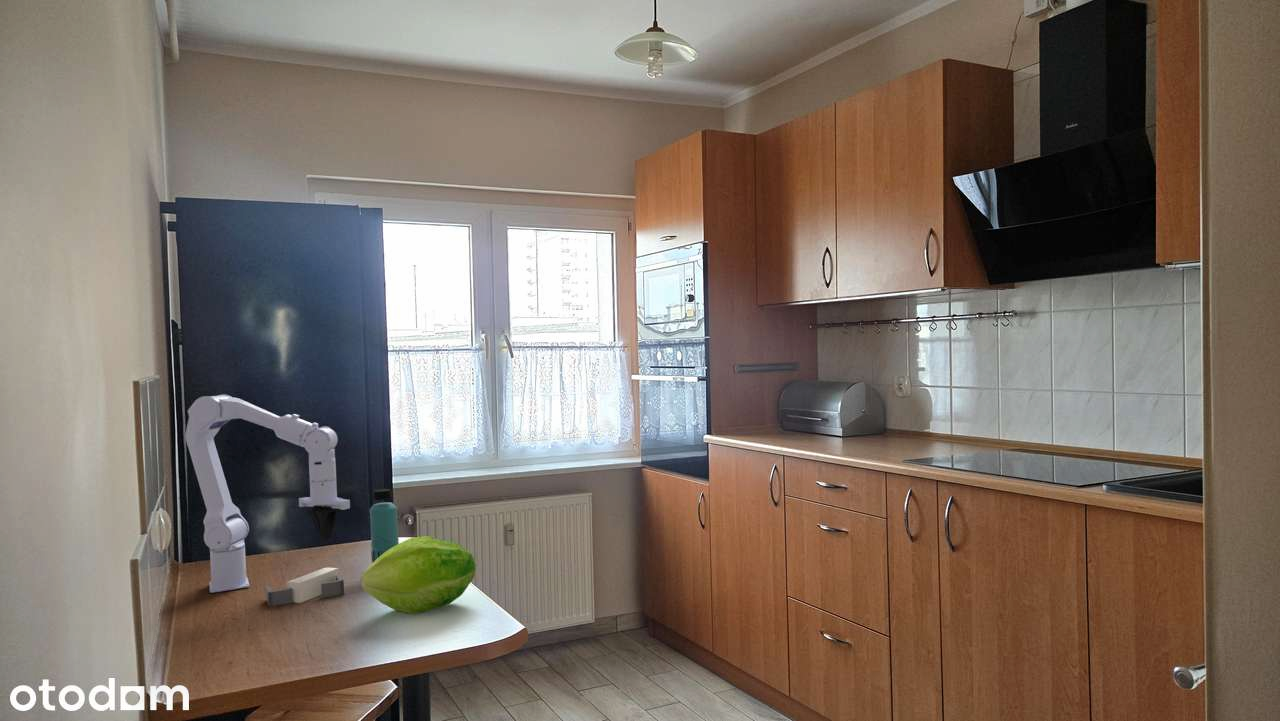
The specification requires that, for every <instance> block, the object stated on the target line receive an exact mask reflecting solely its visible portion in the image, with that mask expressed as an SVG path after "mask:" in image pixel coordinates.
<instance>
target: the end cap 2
mask: <svg viewBox="0 0 1280 721" xmlns="http://www.w3.org/2000/svg"><path fill="white" fill-rule="evenodd" d="M335 577H336V581H332V582H326V583H321V592H322V594H321V599H325V598H329V597H336V596H340V595H343V596H344V595H345V585H344V579H343V578H342V577H341V575H340V574H339V575H335Z"/></svg>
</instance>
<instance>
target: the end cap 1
mask: <svg viewBox="0 0 1280 721" xmlns="http://www.w3.org/2000/svg"><path fill="white" fill-rule="evenodd" d="M265 590H266V591H265V593H266V594H265V596H266V602H267V605H268V608H270V607H276V606H277V607H278V606H282V605H283V606H284V605H289V604H292V603H293V602H292V589H291V588H288V589H287V588H282V589H277V590H273V589H272V587H271V585H266V586H265Z"/></svg>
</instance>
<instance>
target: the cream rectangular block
mask: <svg viewBox="0 0 1280 721" xmlns="http://www.w3.org/2000/svg"><path fill="white" fill-rule="evenodd" d="M335 575H340V574H339V567H323V568H321V569H318V570H315V571H313V572H309V573H307V574H304V575H301V576H299V577H297V578H294V579H291V580H288V581H286V589H288V588H291V589H292V603H297V604H302V603H304V602H307V601H309V600H312V599H314V598H316V597H318V596H322V592H321V583H326V582H332V581H336V577H335Z"/></svg>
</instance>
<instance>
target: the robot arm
mask: <svg viewBox="0 0 1280 721" xmlns="http://www.w3.org/2000/svg"><path fill="white" fill-rule="evenodd" d="M187 414H188V421H187V425H186V430H185V434H184V435H185V441H186V445H187V448H188V450H189V455H190V458H191V461H192V464H193V468H194V472H195V475H196V478H197V481H198V485H199V488H200V493H201V496H202V498H203V501H204V505H205V509H206V514H205V515H204V518H203V525H204V532H203V541H204V543H205V546H207V547H208V548H209V554H210V555H209V558H210V562H209V564H210V581H209V582H208V584H209V585H208V586H209V593H210V594H212V593H219V592H226V591H233V590H239V589H244V588H249V587H250V582H249V578H248V577H247V566H246V564H247V563H246V561H247V560H246V544H245V539H246V538H247V536H248V534H249V532H250V526H249V523H248V521H247V520H246V519H245V518H244V517H243V515H242V513H241V509H240V508H239V507H238V506H236V505H235V504H234V503H233V501H232V497H231V495H230V494H231V493H230V490H229V487H228V484H227V480H226V477H225V474H224V471H223V467H222V464H221V460H220V457H219V454H218V450H217V448H216V444H215V436H216V435H217V434H218V433H219V431H220V429H221V428H222V426H224V425H226V424H228V422H229V421H231V420H237V419H242V420H244V421H246V422H247V421H248V422H250V423H252V424H253V423H254V424H255V425H258V426H263V427H264V428H267V429H270V430H273V431H274V434H275V435H276V437H277V438H279V439H280V440H284V441H286V442H289V443H291V444H294V445H296V446H299V447H302V448H304V449H305V451H306V452H307V453H308V468H309V469H308V472H309V494H310V496H305V497H299V498H298V507H300V508H303V507H308V508H309V507H311V508H312V509H310V510H308V511H307V512H308V516H310V518H311V519H312V521H313V523H314V525H315V527H316V530H317V533H318V537H319V540H322V541H325V540H329V539H332V536H333V535H332V534H333V530H334V527H335V526H334V525H335V523H336V520H337V518H338V516H339V514H340V511H341V510H342V511H343V510H348V509H350V508H351V500H350V499H345V498H341V497H338V490H337V466H336V465H337V464H336V452H335V451H336V446H337V444H338V441H339V439H338V435H337V432H336V431H335V430H333V429H332V428H331V427H330V426H327V425H326V426H325V425H323V426H321V427H319V423H317V422H313V423H312V422H309V421H307V420H304V419H301V418H300V414H296V413H293V414H285V415H283V416H280V415H277V414H275V413H273V412H270V411H268V410H266V409H264V408H261V407H259V406H257V405H254V404H252V403H250V402H248V401H245V400H244V399H242V398H238V397H232V396H231V395H228V394H224V393H223V394H219V395H212V396H208V395H206V396H200V397H199V398H197V399H196V400H194V402H193V403H192V404H191V406H190V407H189V408H188V410H187Z"/></svg>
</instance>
